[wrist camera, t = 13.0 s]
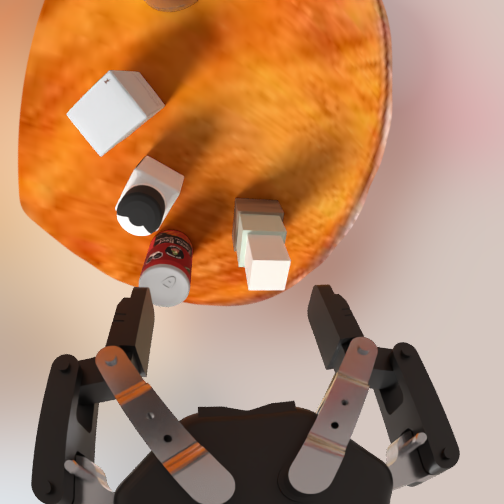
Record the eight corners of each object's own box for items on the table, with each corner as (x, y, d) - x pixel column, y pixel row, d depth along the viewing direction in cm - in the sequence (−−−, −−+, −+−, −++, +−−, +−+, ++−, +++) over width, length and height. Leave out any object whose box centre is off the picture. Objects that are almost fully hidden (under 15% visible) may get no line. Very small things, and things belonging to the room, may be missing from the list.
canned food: (200, 237, 50) (198, 277, 40) (183, 271, 53) (179, 313, 44) (158, 221, 47) (146, 258, 38) (144, 257, 50) (133, 298, 41)
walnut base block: (235, 197, 46) (237, 210, 42) (277, 199, 48) (284, 213, 43) (232, 235, 50) (234, 251, 46) (271, 236, 51) (277, 252, 47)
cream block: (247, 234, 39) (252, 260, 34) (280, 235, 40) (290, 260, 35) (244, 262, 41) (248, 290, 36) (275, 262, 42) (284, 290, 37)
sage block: (239, 213, 43) (242, 230, 38) (279, 215, 44) (286, 232, 39) (236, 247, 46) (238, 266, 42) (273, 249, 47) (279, 267, 43)
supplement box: (101, 102, 34) (63, 113, 24) (139, 70, 33) (110, 67, 22) (128, 136, 38) (99, 159, 28) (167, 106, 37) (148, 116, 26)
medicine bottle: (146, 154, 40) (124, 179, 30) (185, 176, 43) (176, 208, 33) (126, 191, 43) (103, 226, 33) (163, 211, 46) (150, 251, 36)
